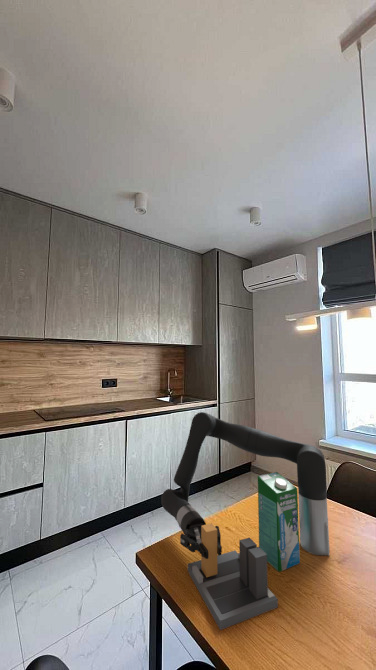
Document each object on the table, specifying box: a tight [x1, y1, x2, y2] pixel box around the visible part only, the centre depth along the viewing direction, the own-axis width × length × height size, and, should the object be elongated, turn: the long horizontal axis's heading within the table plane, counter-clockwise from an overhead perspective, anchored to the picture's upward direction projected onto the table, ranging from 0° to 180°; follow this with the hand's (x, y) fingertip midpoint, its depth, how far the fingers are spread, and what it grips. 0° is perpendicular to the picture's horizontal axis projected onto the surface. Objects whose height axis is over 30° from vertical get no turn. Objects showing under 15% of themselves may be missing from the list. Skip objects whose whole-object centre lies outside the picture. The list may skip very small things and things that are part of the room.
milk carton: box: [257, 471, 301, 573], centre depth 91 cm, size 9×9×25 cm
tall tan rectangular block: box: [200, 522, 218, 577], centre depth 81 cm, size 4×4×12 cm
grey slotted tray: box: [187, 537, 279, 631], centre depth 79 cm, size 17×20×12 cm
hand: (213, 553), depth 79 cm, fingers closed on tall tan rectangular block, 3 cm apart
